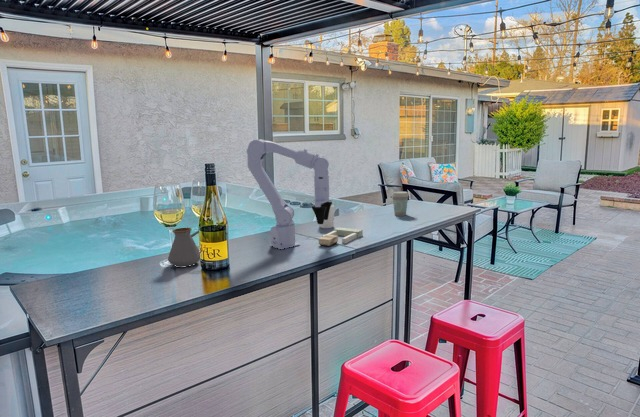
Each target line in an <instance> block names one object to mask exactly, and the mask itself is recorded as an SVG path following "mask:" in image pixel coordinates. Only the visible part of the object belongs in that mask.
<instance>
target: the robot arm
mask: <svg viewBox="0 0 640 417" xmlns="http://www.w3.org/2000/svg"><path fill="white" fill-rule="evenodd" d="M273 153H274V154H278V155H281V156H284V157H286V158H287V157H288V158H291V159H293V160H294V162H295V164H296V165H298V166H299V165H300V166H302V167H305V168H308V169H313V170H314V176H313V178H314V181H313V182H314V186H313V187H314V198H313V199H314V205H312V206H311V209H312V211H313V212H314V215H315V219H316V223H317V225H319V224H323V223H324V220H328V216H329V210H330V207H331V205H333V202H332V201H333V198H330V176H329V170H328V169H329V164H330V163H329V160H328V159H327V158H326V157H325V156H319V154H318V153H316V154H315V153H312V152H309V151H308V149H305V148H304V149H299V150H297V151H296V150H295V149H292V148H289V147H287V146H284V145H281V144H279V143H277V142H275V141H271V140H265V139H263V138H262V139H261V138H259V139H253V140H252V141H250V142H249V143H248V147H247V149H246V154H247V168H248V170H249V171H250V173H251V174H252V176H253V178H254V179H255V181H256V182H257V184H258V186H259V187H260V188H259V189H260V190H262V193H263V194H264V196H265V197H266V199H267V201H268V202H269V204H270V205H271V207H272V208H271V209H272V212H273V214H274V217H275V219H274V220H275V221H276V223H275V224H276V225H274V226H272V227H270V230H269V231H270V232H269V233H270V234H269V236H270V244H269V246H270V247H272V246H273V247H272V248H275V249H277V248H278V249H277V250H280V249H281V250H284V248H285V249H290V248H292V247H293V246H294V247H297V246H300V244H301V243H298V242H296V231H295V230H296V228H295V221H294V220H293V218H294V215H295V210H294V209H293V207H292V206H290V205H289V204H288V203H287V201H285V200H284V198H282V196H281V194H280V193H279V191H278V190H277V188H276V186H275V185H274V183H273V181H272V179H271V178H270V177H269V175H268V174H267V172H266V170H265V168H264V167H263V161H264V158H265V156H266V155H267V154H273ZM289 247H290V248H289Z"/></svg>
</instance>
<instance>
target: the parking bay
mask: <svg viewBox="0 0 640 417" xmlns="http://www.w3.org/2000/svg"><path fill="white" fill-rule="evenodd" d="M325 235H335V236H341V237H342V239H341V243H342V244H345V243H346V244H347V243H350V242H351V241H353V240H355V239H357V238H358V239H359V238H361V237H362V236H363V229H359V228H357V229H356V228H348V227H335V228H334V229H333V230H332V231H330V232H328V233H326V234H324V235H322V236H321V237H323V236H325Z"/></svg>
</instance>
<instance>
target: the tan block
mask: <svg viewBox="0 0 640 417" xmlns="http://www.w3.org/2000/svg"><path fill="white" fill-rule="evenodd" d="M324 235H325V236H323V235H322V236H323V237H322V236H321V237H318V245H320V246H327V247H329V248H330V247H332V245H334V244H337V243H338V242H339V235H337V236H335V235H326V234H324Z"/></svg>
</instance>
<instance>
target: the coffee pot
mask: <svg viewBox="0 0 640 417" xmlns="http://www.w3.org/2000/svg"><path fill="white" fill-rule="evenodd" d="M192 230H193V229H192V228H191V227H179V228H174V229H173V230H172V232H173V234H174V239H173V242H172V246H171V248H170V251H169V254H168V257H167V261H168V262H169V264H170V265H172V264H173V265H172V266H174V265H176V266H189V265H193V264H195V263H197V264H198V263H199V261H200V260H201V259H200V253H201V251H200V249H199V247H198V245H197V244H196V243H195V240H194V239H193V237H194V236H195V237H196V235H198V234H200V233H199V230H196V232H193V233H192V234H191V232H192ZM199 251H200V252H199Z"/></svg>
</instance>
